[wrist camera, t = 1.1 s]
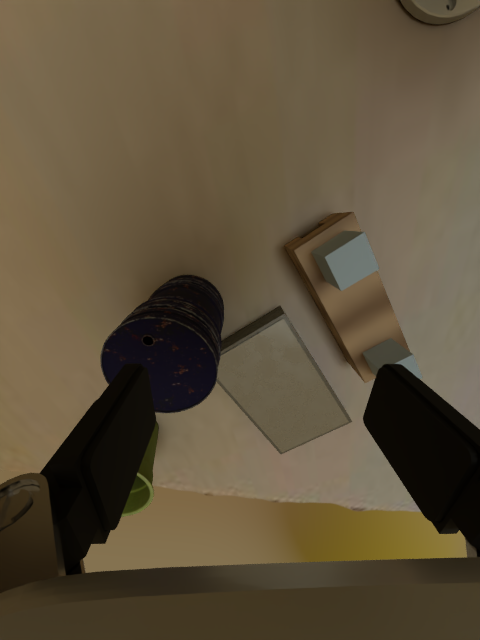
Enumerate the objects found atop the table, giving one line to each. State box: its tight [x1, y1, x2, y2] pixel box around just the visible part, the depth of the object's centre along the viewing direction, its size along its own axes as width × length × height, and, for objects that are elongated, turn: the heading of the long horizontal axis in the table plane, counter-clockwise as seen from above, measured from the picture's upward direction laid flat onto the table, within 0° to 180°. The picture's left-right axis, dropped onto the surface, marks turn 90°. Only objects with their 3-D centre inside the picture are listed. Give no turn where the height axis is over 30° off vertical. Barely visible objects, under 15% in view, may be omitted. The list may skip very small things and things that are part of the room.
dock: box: [216, 306, 352, 454], centre depth 37 cm, size 14×24×3 cm, turn 33°
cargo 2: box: [363, 338, 422, 379], centre depth 29 cm, size 4×4×4 cm
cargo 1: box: [311, 231, 379, 291], centre depth 23 cm, size 4×4×4 cm
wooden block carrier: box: [284, 212, 410, 383], centre depth 31 cm, size 22×7×6 cm, turn 33°
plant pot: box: [121, 422, 158, 517], centre depth 36 cm, size 12×12×11 cm
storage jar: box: [101, 275, 224, 413], centre depth 26 cm, size 10×10×15 cm
